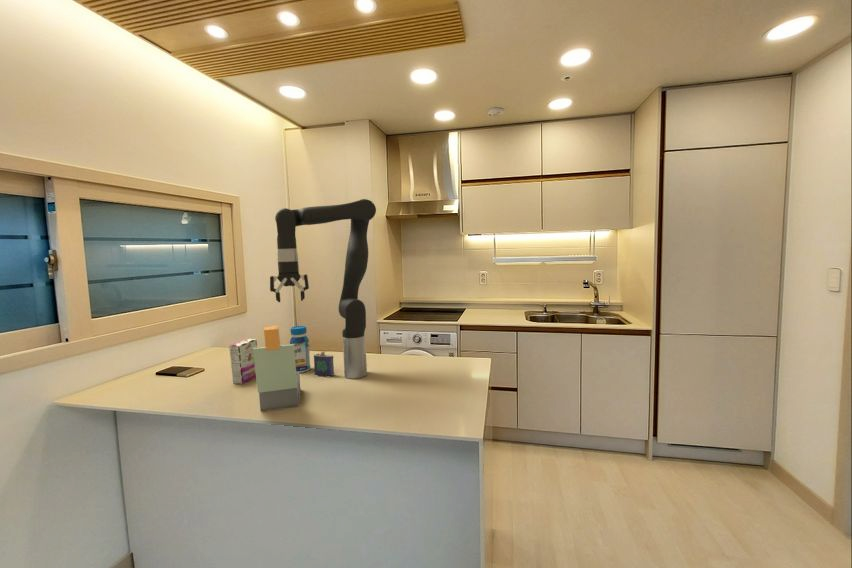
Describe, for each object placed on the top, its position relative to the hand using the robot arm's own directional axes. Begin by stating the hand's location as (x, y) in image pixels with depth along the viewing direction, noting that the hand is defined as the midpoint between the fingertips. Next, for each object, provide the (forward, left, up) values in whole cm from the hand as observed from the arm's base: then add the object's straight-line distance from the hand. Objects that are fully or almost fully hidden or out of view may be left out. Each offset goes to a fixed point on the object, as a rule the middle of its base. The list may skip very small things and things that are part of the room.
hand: (290, 301), depth 143 cm
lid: (+4, +24, -15) cm, 29 cm away
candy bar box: (+21, -14, -34) cm, 43 cm away
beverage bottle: (-1, -18, -34) cm, 39 cm away
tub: (+4, +15, -34) cm, 37 cm away
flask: (-11, -7, -34) cm, 37 cm away
